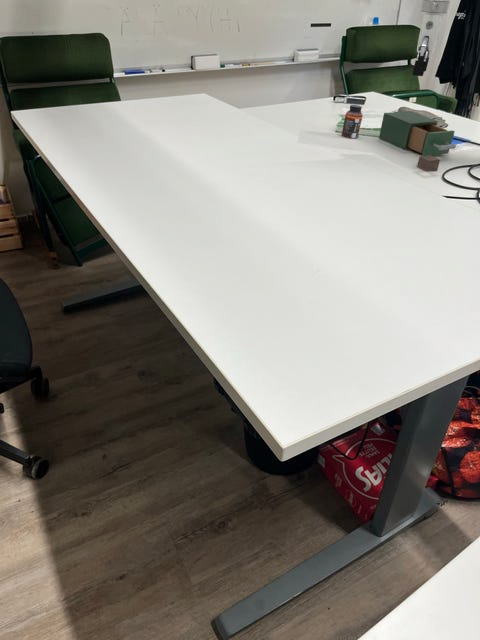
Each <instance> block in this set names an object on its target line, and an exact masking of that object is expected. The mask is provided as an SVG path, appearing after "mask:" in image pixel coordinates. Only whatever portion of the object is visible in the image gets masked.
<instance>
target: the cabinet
mask: <svg viewBox="0 0 480 640" xmlns="http://www.w3.org/2000/svg"><path fill="white" fill-rule="evenodd" d="M438 122H439V121H438V120H435V119H434V118H433V119H432V118H430V117H427V116H424V115H421V114H419V113H416V112H414V111H411V110H406V111H405V110H404V111H392V112H391V111H390V112H384V113H383V117H382V122H381V124H380V125H381V126H380V130H379V131H380V132H379V136H378V139H379V140H381V141H384V142H386V143H388V144H390V145H392V146H395V147H397V148H399V149H402V150H403V151H413V149H411V148H409V147H407V144H408V140H409V136H410V131H411V127H412V126H415V125H426V124H433V125H435V126H438Z"/></svg>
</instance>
